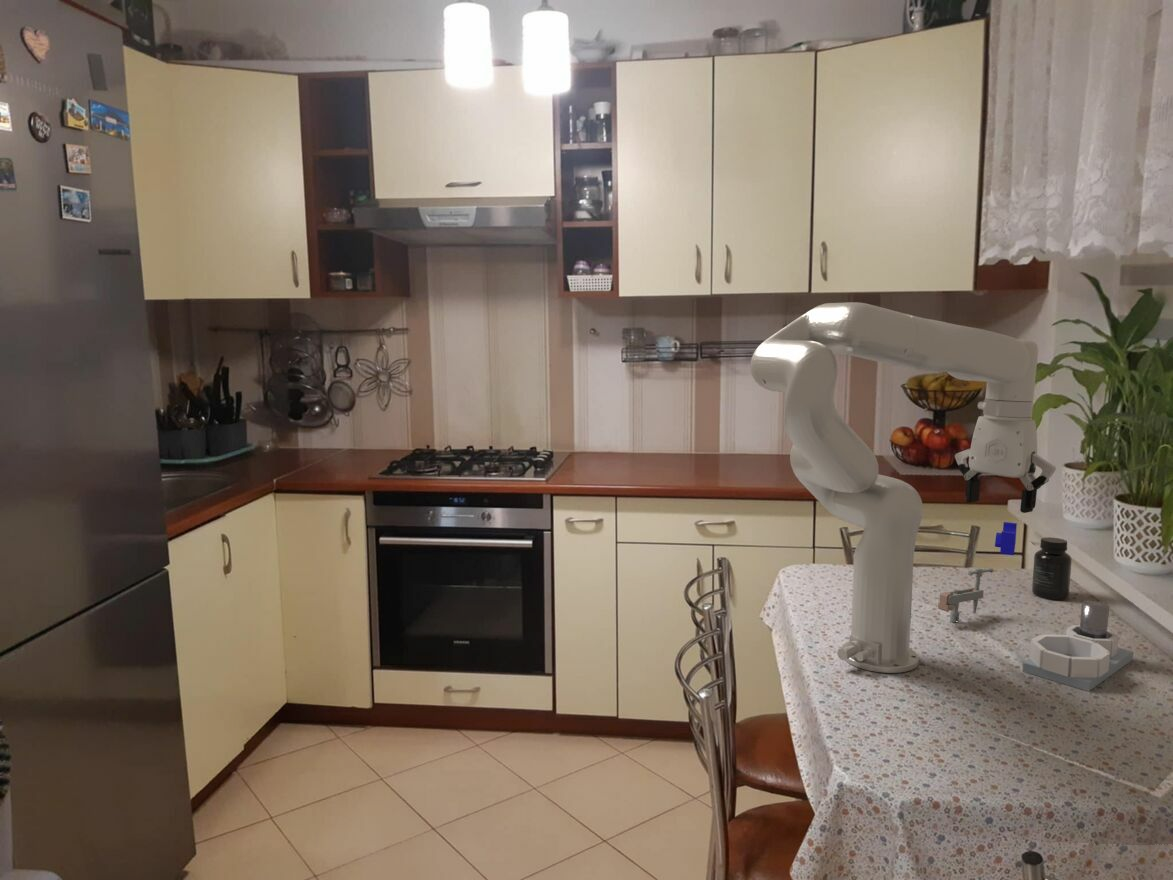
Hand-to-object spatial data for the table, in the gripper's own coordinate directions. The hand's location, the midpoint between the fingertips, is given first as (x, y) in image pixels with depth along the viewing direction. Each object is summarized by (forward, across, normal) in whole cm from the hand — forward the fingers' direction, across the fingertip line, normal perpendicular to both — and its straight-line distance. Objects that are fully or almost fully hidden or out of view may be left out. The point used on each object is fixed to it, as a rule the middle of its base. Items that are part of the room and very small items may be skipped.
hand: (998, 506), depth 148 cm
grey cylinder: (+23, +15, +6) cm, 28 cm away
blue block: (+23, -28, +63) cm, 73 cm away
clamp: (+25, -8, +8) cm, 27 cm away
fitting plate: (+24, +15, +2) cm, 29 cm away
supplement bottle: (+24, -5, +35) cm, 42 cm away
